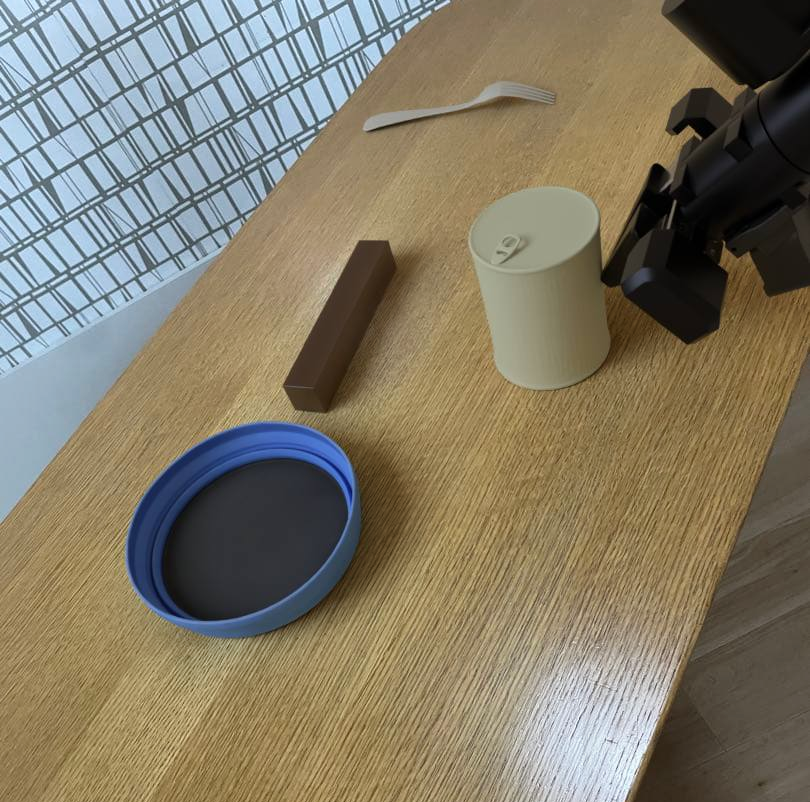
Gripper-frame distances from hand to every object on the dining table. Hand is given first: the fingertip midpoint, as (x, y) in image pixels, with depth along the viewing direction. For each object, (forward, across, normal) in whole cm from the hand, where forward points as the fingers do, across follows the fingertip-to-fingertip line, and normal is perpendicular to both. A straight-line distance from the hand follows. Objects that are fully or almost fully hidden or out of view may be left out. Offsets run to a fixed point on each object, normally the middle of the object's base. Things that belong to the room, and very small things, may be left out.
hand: (605, 280), depth 60 cm
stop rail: (+21, 0, +11) cm, 24 cm away
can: (+8, 0, -2) cm, 8 cm away
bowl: (+21, -22, +11) cm, 32 cm away
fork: (+21, +33, +11) cm, 41 cm away
